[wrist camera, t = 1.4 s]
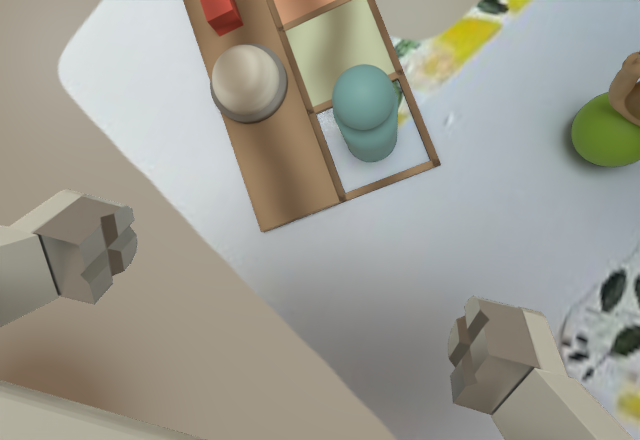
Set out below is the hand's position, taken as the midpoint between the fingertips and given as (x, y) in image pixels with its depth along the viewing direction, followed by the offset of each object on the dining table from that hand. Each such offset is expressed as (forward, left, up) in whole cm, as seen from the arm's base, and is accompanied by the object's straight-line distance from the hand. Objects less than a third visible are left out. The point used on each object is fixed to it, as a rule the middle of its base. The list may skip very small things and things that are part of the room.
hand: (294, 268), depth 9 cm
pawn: (-4, -9, -25) cm, 27 cm away
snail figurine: (-20, -2, -25) cm, 32 cm away
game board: (0, -17, -26) cm, 31 cm away
